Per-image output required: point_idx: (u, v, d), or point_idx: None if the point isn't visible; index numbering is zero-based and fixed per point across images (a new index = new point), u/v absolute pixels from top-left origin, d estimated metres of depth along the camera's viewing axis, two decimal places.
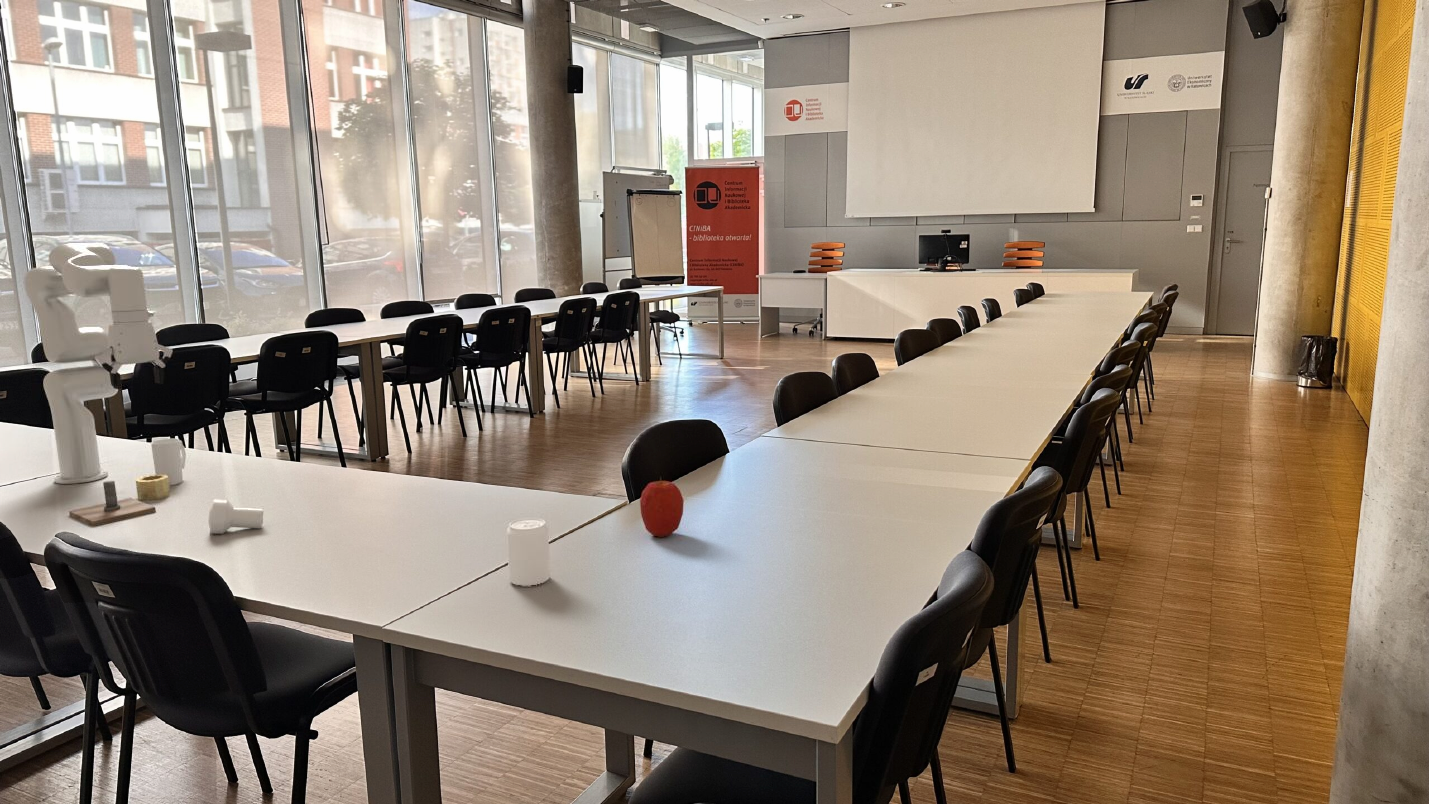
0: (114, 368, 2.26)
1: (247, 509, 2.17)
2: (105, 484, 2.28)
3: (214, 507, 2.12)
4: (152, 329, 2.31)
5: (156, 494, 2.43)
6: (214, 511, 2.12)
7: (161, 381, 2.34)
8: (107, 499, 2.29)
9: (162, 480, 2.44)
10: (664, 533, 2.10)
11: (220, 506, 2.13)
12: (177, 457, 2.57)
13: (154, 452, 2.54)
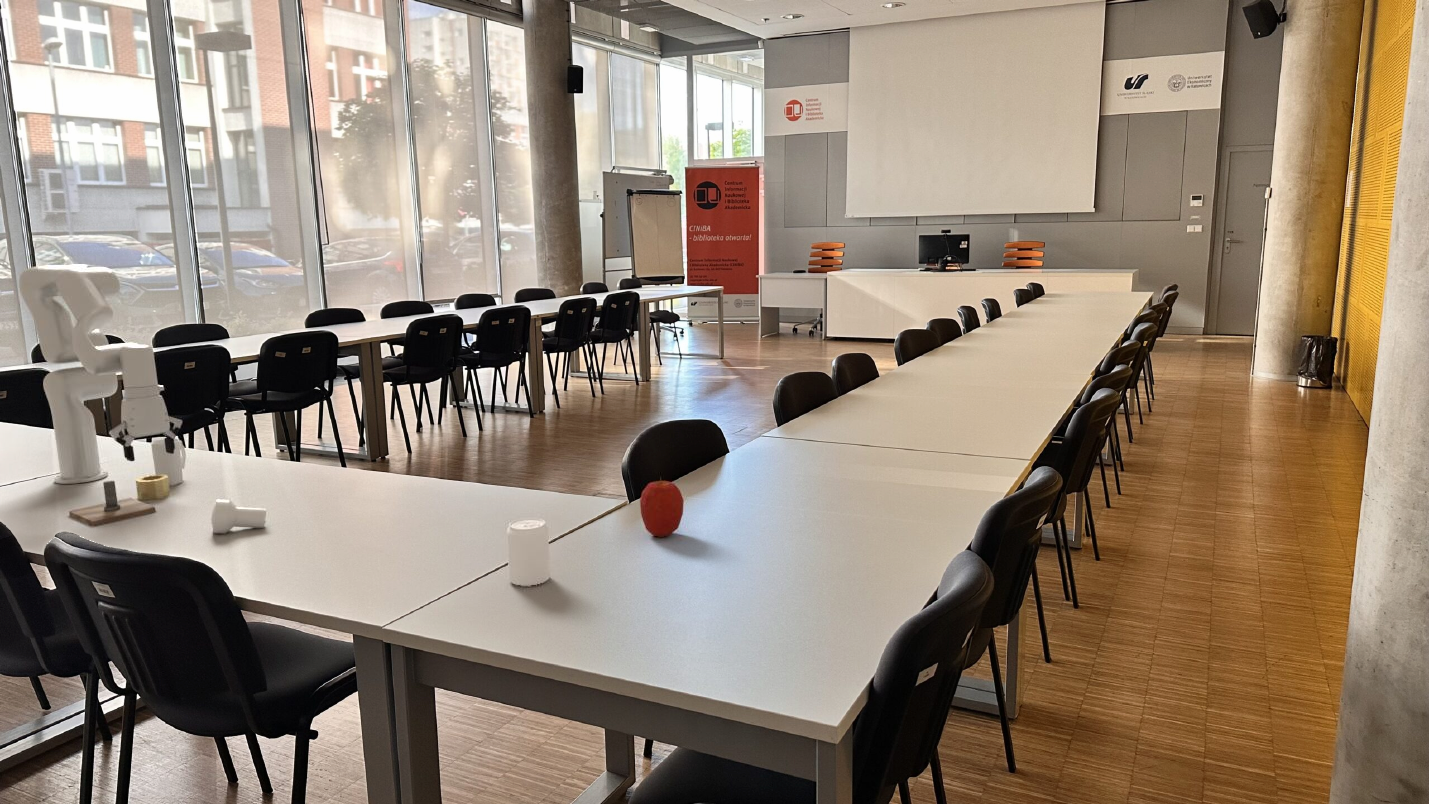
0: (127, 441, 2.38)
1: (250, 509, 2.18)
2: (105, 484, 2.28)
3: (217, 507, 2.13)
4: (163, 402, 2.43)
5: (156, 494, 2.43)
6: (217, 511, 2.12)
7: (172, 451, 2.46)
8: (107, 499, 2.29)
9: (162, 480, 2.44)
10: (664, 533, 2.10)
11: (223, 506, 2.13)
12: (177, 457, 2.57)
13: (154, 452, 2.54)
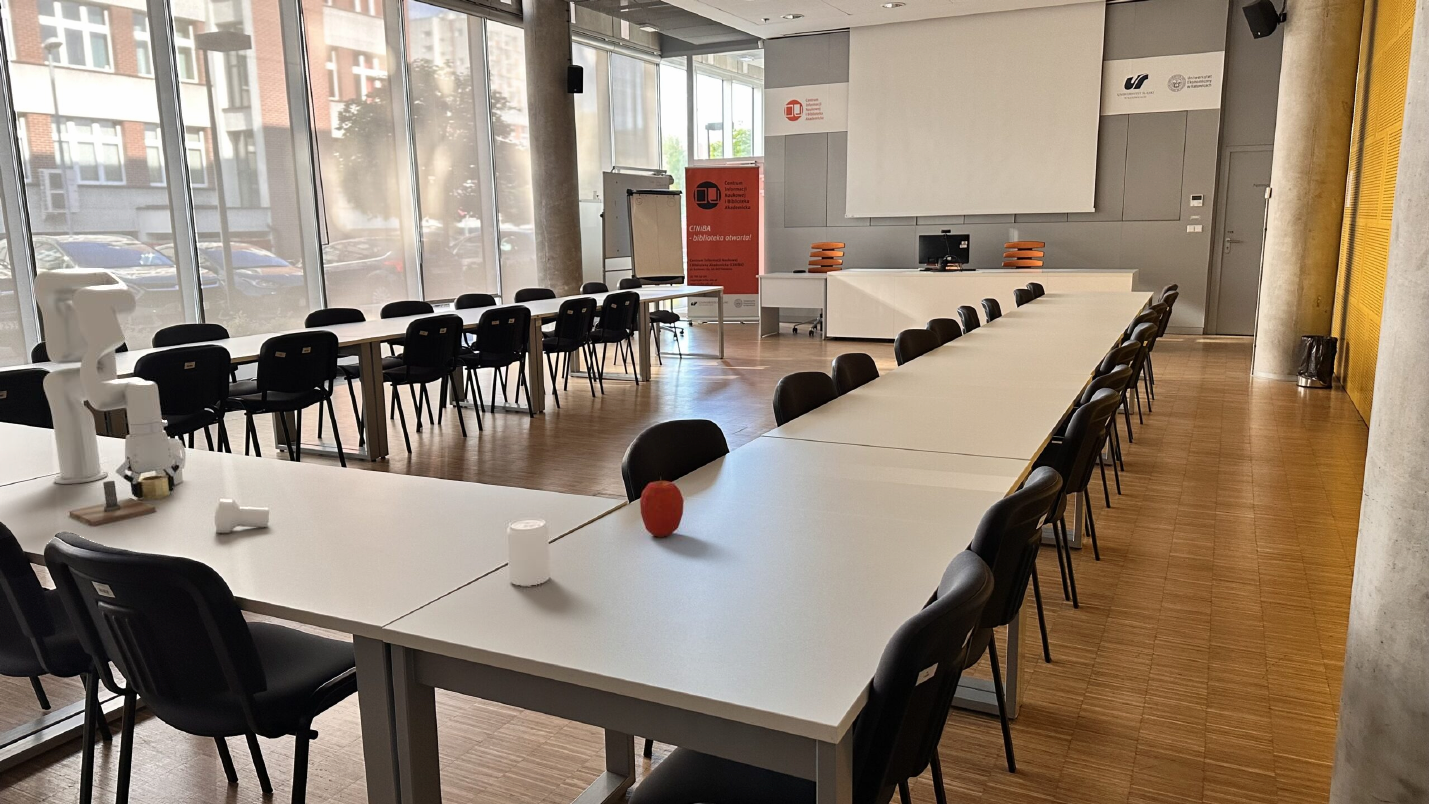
0: (134, 479, 2.40)
1: (253, 508, 2.18)
2: (105, 484, 2.28)
3: (220, 506, 2.13)
4: (166, 438, 2.45)
5: (156, 494, 2.43)
6: (220, 510, 2.12)
7: (171, 489, 2.48)
8: (107, 499, 2.29)
9: (162, 480, 2.44)
10: (664, 533, 2.10)
11: (226, 505, 2.14)
12: None
13: None
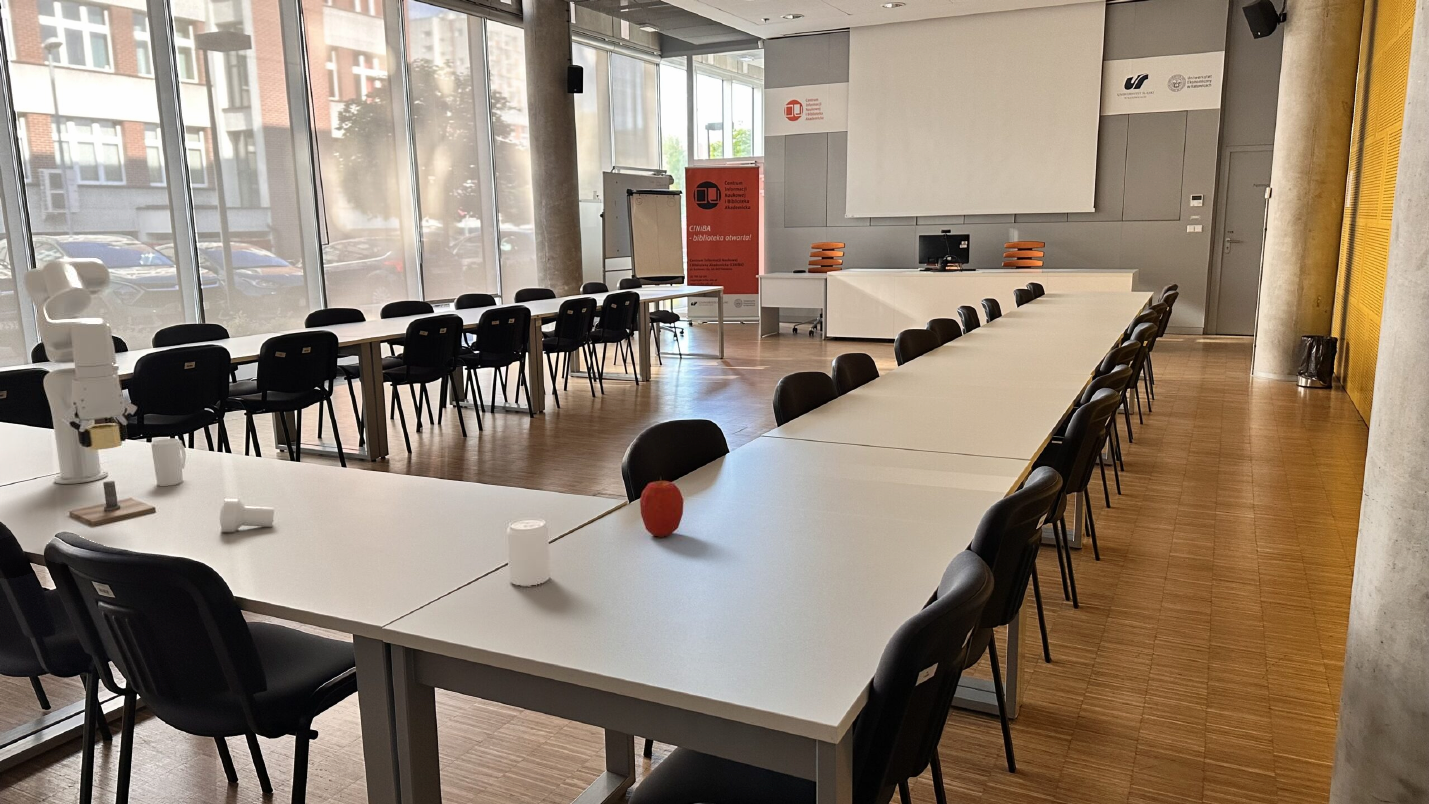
0: (81, 426, 2.22)
1: (258, 508, 2.18)
2: (105, 484, 2.28)
3: (225, 506, 2.13)
4: (117, 383, 2.27)
5: (106, 443, 2.25)
6: (225, 510, 2.13)
7: (123, 439, 2.29)
8: (107, 499, 2.29)
9: (112, 428, 2.25)
10: (664, 533, 2.10)
11: (231, 505, 2.14)
12: (177, 457, 2.57)
13: (154, 452, 2.54)
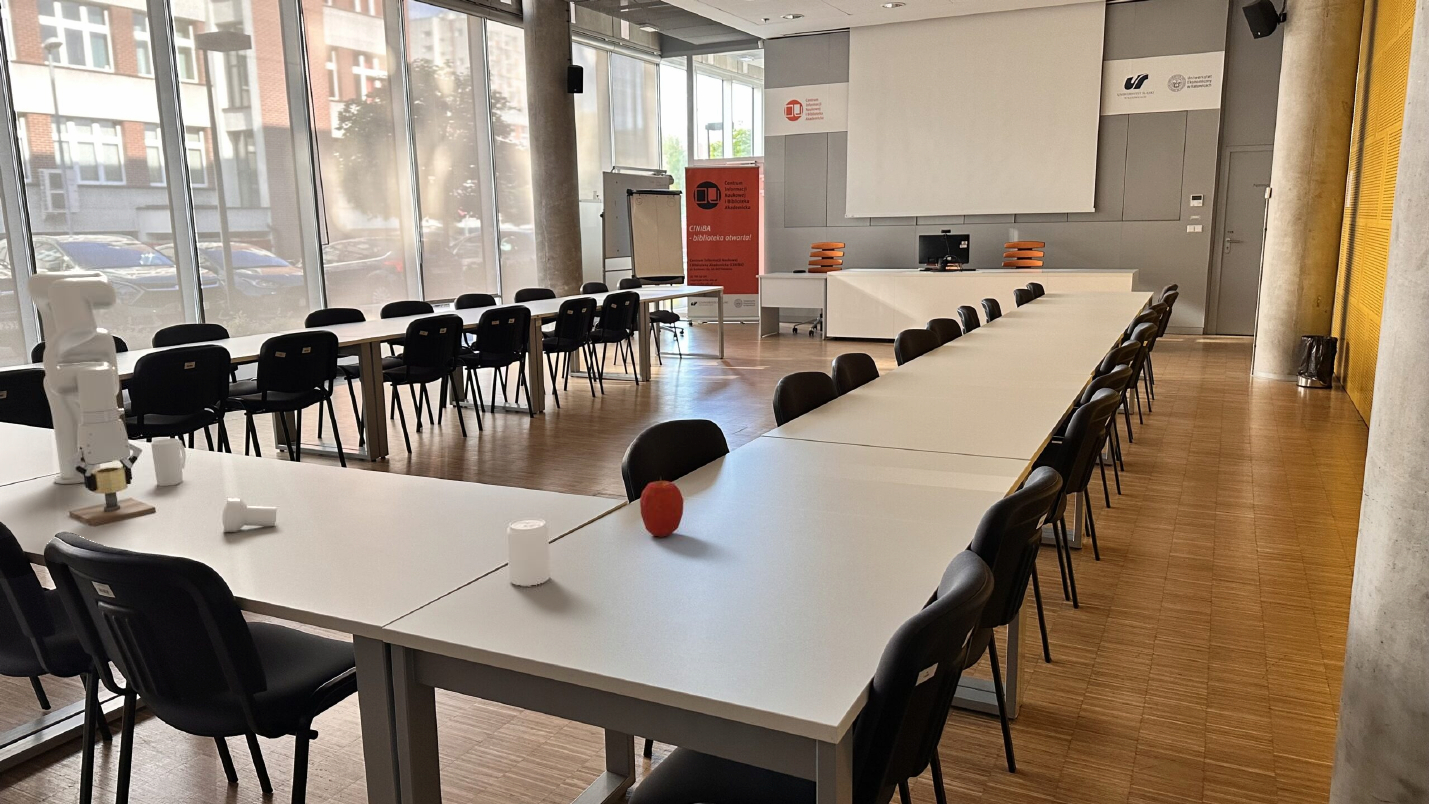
0: (87, 471, 2.24)
1: (260, 507, 2.19)
2: None
3: (228, 505, 2.14)
4: (122, 427, 2.29)
5: (111, 487, 2.27)
6: (228, 509, 2.13)
7: (129, 482, 2.32)
8: (107, 499, 2.29)
9: (118, 472, 2.28)
10: (664, 533, 2.10)
11: (234, 504, 2.14)
12: (177, 457, 2.57)
13: (154, 452, 2.54)
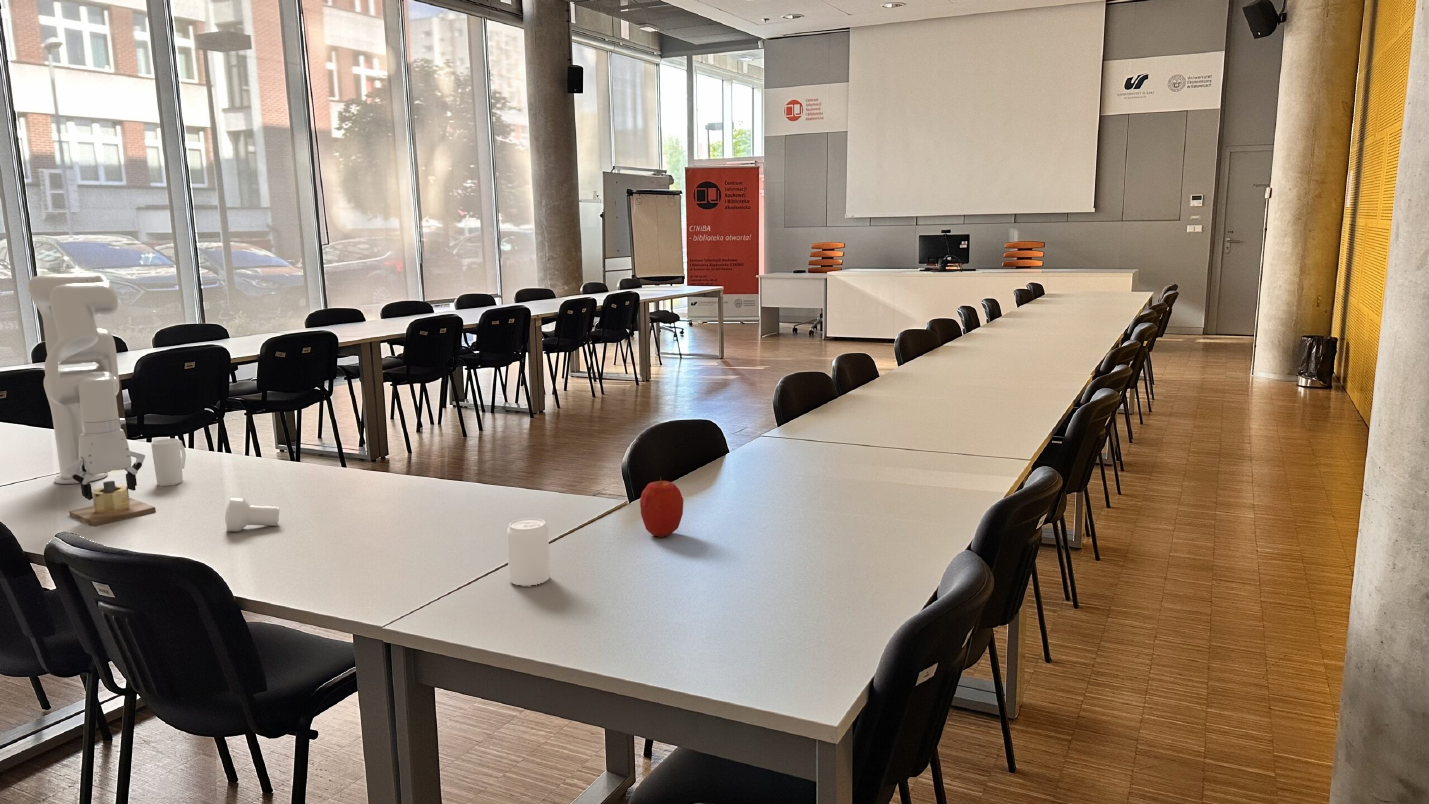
0: (85, 479, 2.24)
1: (263, 507, 2.19)
2: (105, 484, 2.28)
3: (231, 505, 2.14)
4: (124, 437, 2.29)
5: (114, 507, 2.28)
6: (231, 509, 2.13)
7: (133, 488, 2.33)
8: None
9: (121, 492, 2.29)
10: (664, 533, 2.10)
11: (237, 504, 2.15)
12: (177, 457, 2.57)
13: (154, 452, 2.54)
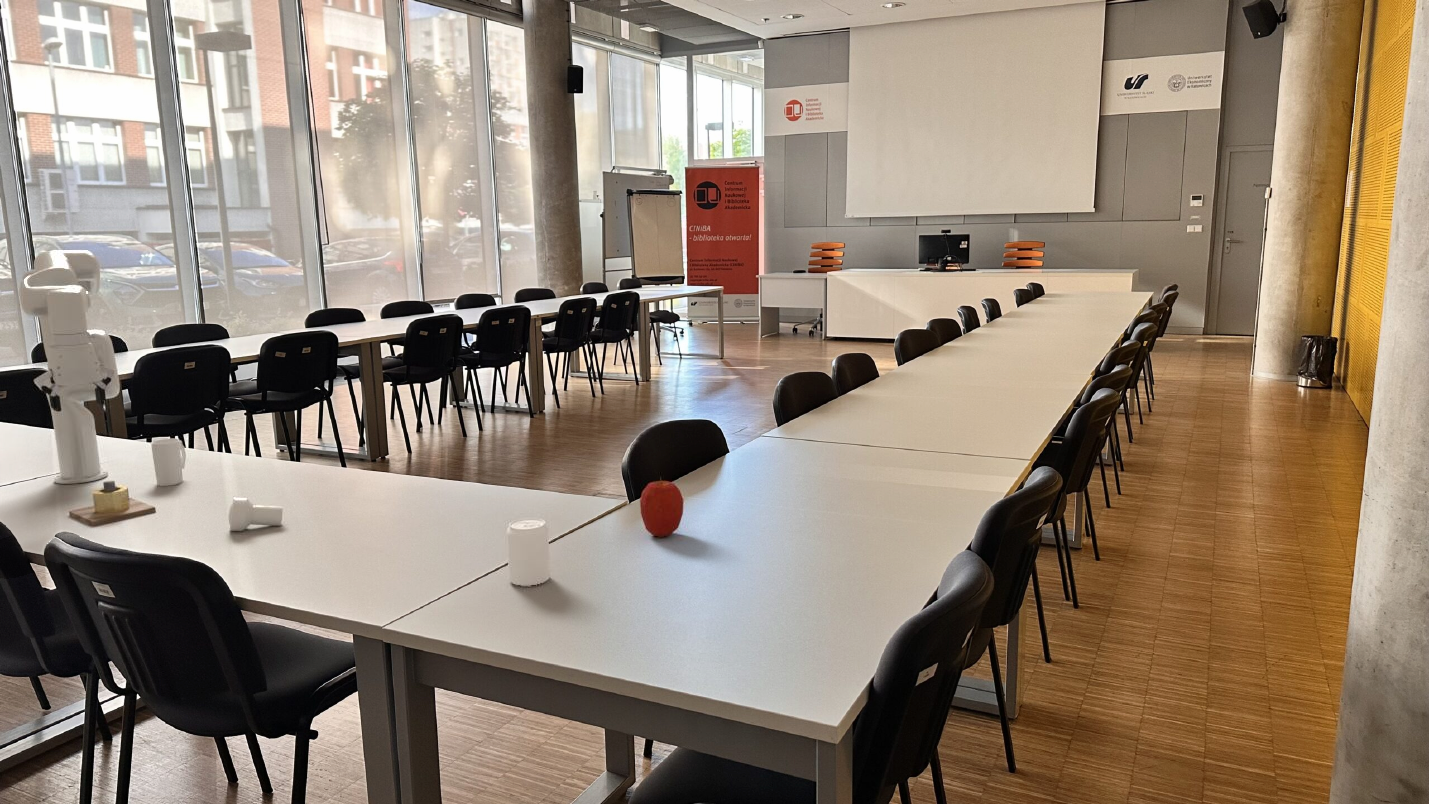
0: (53, 391, 2.26)
1: (266, 507, 2.19)
2: (105, 484, 2.28)
3: (234, 505, 2.14)
4: (93, 351, 2.31)
5: (114, 507, 2.28)
6: (234, 509, 2.14)
7: (102, 402, 2.35)
8: None
9: (121, 492, 2.29)
10: (664, 533, 2.10)
11: (240, 504, 2.15)
12: (177, 457, 2.57)
13: (154, 452, 2.54)
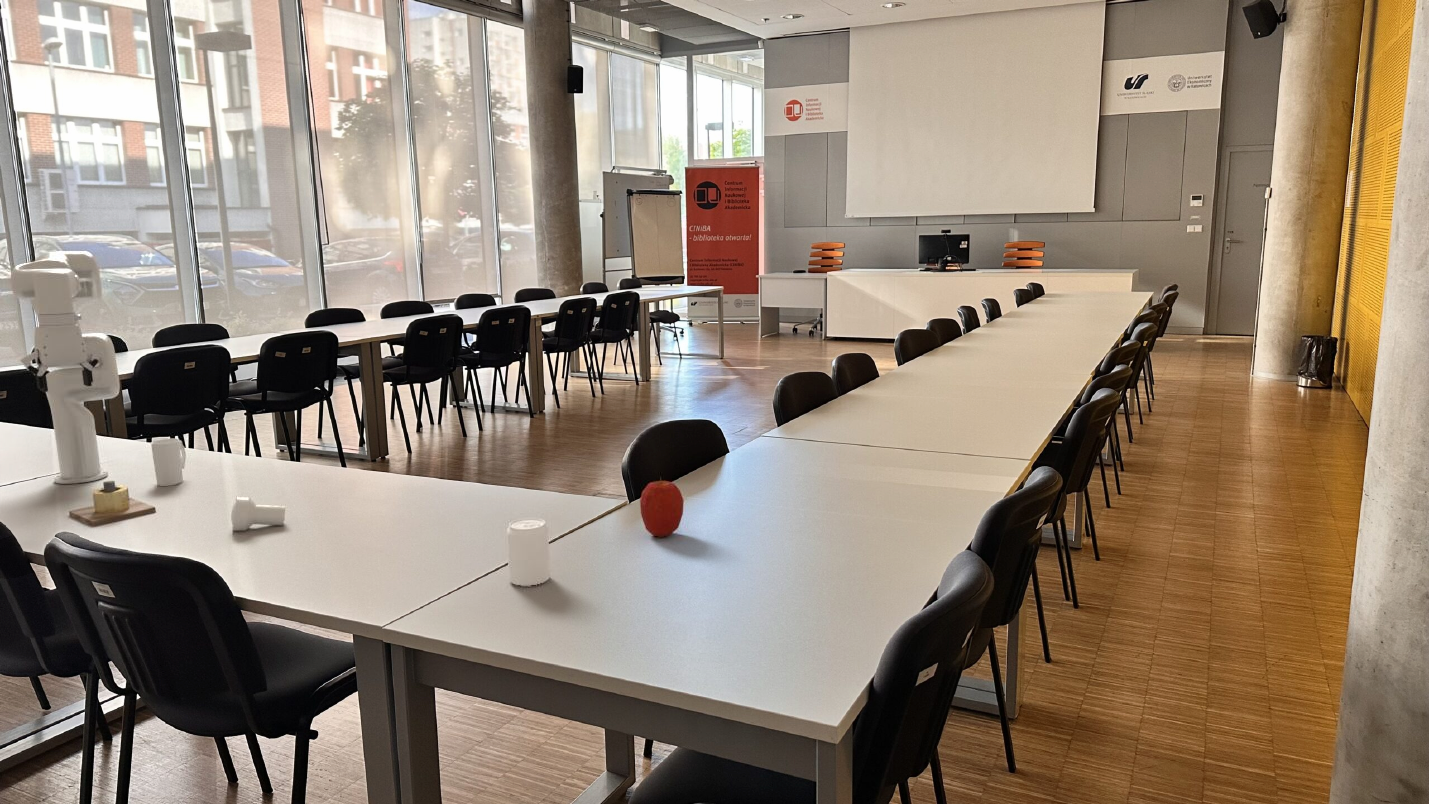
0: (40, 371, 2.28)
1: (269, 506, 2.19)
2: (105, 484, 2.28)
3: (237, 504, 2.14)
4: (79, 332, 2.33)
5: (114, 507, 2.28)
6: (237, 508, 2.14)
7: (89, 384, 2.37)
8: None
9: (121, 492, 2.29)
10: (664, 533, 2.10)
11: (243, 503, 2.15)
12: (177, 457, 2.57)
13: (154, 452, 2.54)
